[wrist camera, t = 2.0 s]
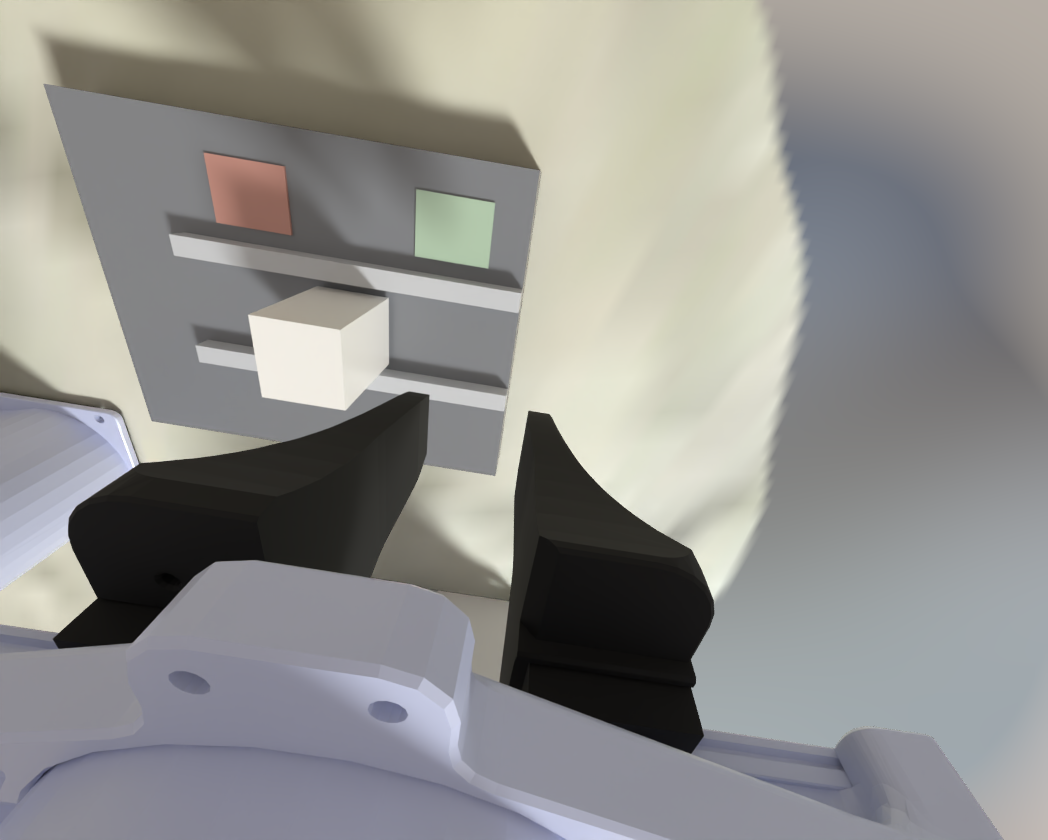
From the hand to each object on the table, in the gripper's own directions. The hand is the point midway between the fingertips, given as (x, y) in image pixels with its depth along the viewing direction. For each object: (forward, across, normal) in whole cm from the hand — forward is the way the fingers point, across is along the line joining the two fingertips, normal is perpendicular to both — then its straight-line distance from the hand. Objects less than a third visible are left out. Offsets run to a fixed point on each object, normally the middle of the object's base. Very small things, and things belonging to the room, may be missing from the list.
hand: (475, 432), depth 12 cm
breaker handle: (+7, +7, 0) cm, 10 cm away
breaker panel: (+9, +8, 0) cm, 13 cm away
